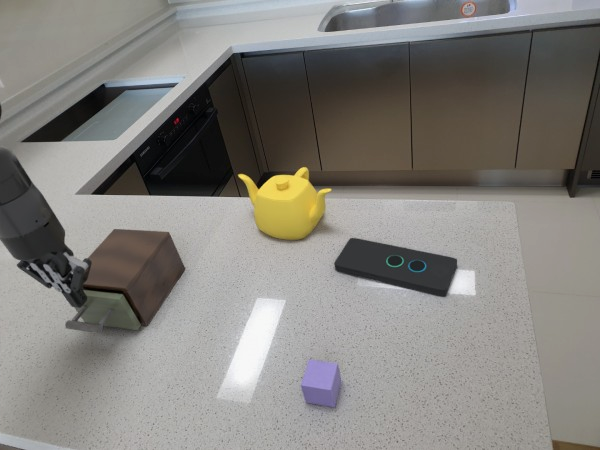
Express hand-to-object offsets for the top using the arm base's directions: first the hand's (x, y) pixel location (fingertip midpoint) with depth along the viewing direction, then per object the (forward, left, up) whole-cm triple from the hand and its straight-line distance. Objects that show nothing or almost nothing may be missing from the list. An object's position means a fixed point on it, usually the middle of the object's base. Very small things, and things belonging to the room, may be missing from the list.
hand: (80, 303), depth 74 cm
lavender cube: (-16, -37, -9) cm, 41 cm away
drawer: (+6, -2, -8) cm, 11 cm away
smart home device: (+6, -52, -10) cm, 53 cm away
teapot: (+26, -35, -10) cm, 44 cm away
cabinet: (+11, -4, -9) cm, 15 cm away
